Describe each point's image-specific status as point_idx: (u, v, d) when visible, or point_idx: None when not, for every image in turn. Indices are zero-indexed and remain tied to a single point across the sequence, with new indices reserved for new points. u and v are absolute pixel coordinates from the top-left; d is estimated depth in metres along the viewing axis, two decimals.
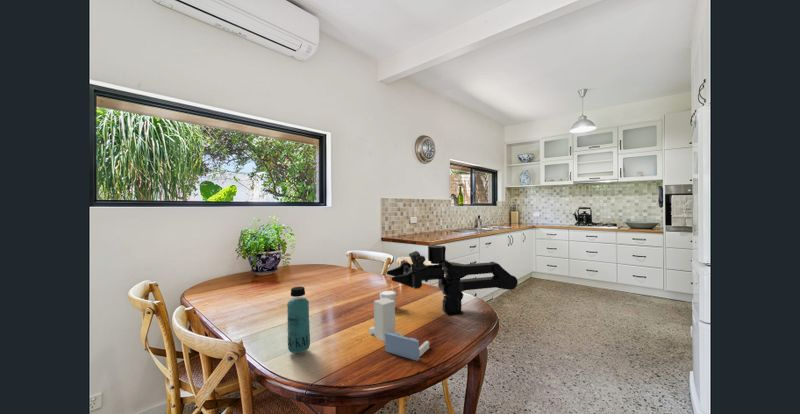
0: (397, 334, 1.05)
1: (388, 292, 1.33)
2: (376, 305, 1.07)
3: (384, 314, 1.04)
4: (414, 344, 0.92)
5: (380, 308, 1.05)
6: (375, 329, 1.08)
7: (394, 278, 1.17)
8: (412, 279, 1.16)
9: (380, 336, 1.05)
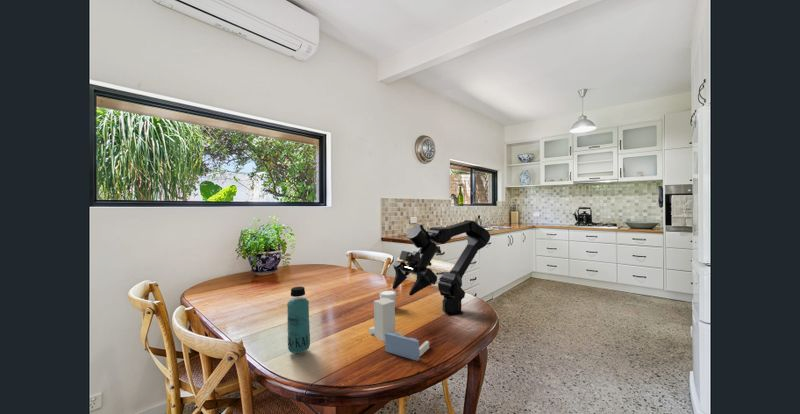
0: (397, 334, 1.05)
1: (388, 292, 1.33)
2: (376, 305, 1.07)
3: (384, 314, 1.04)
4: (414, 344, 0.92)
5: (380, 308, 1.05)
6: (375, 329, 1.08)
7: (411, 292, 1.08)
8: (427, 280, 1.08)
9: (380, 336, 1.05)
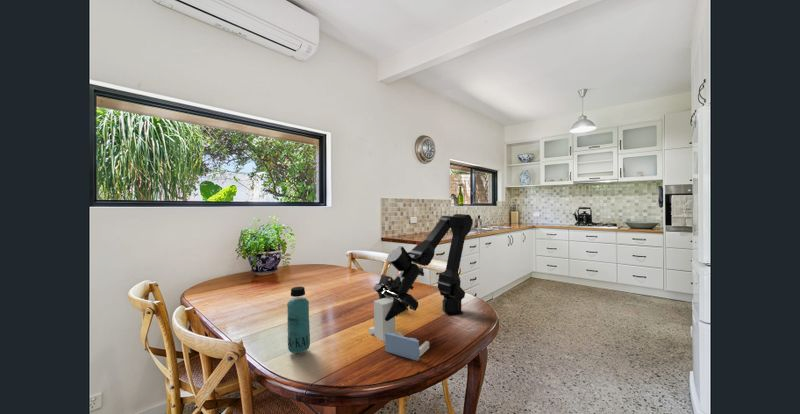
0: (397, 334, 1.05)
1: None
2: (376, 305, 1.07)
3: (384, 314, 1.04)
4: (414, 344, 0.92)
5: (380, 308, 1.05)
6: (375, 329, 1.08)
7: (387, 318, 1.04)
8: (403, 304, 1.05)
9: (380, 336, 1.05)
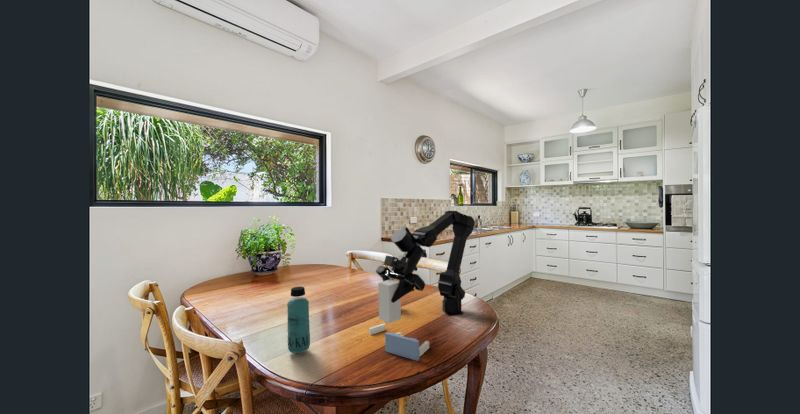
0: (397, 334, 1.05)
1: None
2: (381, 287, 1.04)
3: (390, 296, 1.02)
4: (414, 344, 0.92)
5: (386, 289, 1.02)
6: (380, 312, 1.05)
7: (394, 299, 1.02)
8: (410, 285, 1.02)
9: (386, 318, 1.03)
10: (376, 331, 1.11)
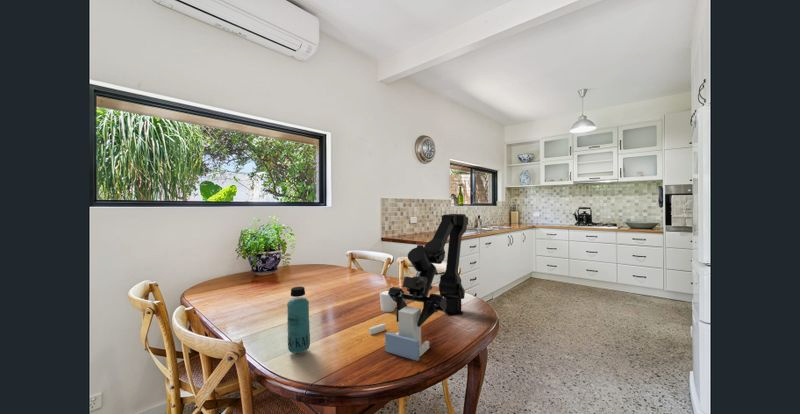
0: (397, 334, 1.05)
1: None
2: (402, 315, 0.97)
3: (413, 324, 0.96)
4: (414, 344, 0.92)
5: (409, 318, 0.96)
6: None
7: (420, 323, 0.96)
8: (435, 307, 0.98)
9: None
10: (376, 331, 1.11)
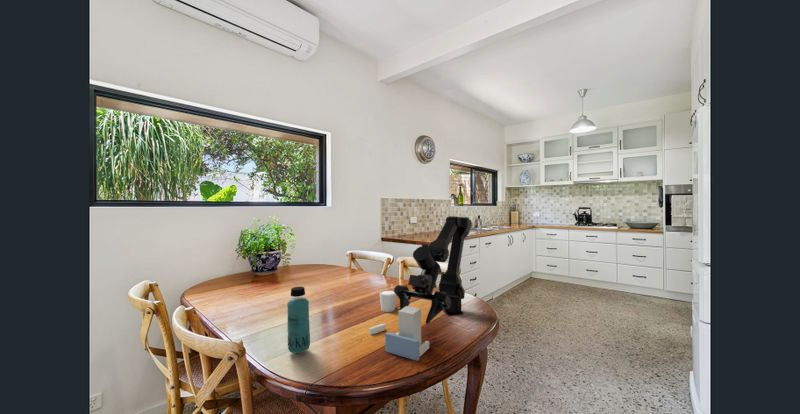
0: (397, 334, 1.05)
1: (388, 292, 1.33)
2: (402, 315, 0.97)
3: (413, 324, 0.96)
4: (414, 344, 0.92)
5: (409, 318, 0.96)
6: None
7: (428, 320, 0.99)
8: (442, 304, 1.01)
9: None
10: (376, 331, 1.11)
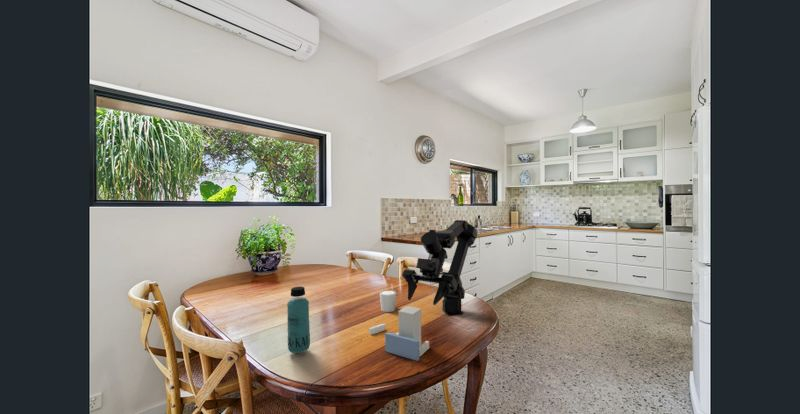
0: (397, 334, 1.05)
1: (388, 292, 1.33)
2: (402, 315, 0.97)
3: (413, 324, 0.96)
4: (414, 344, 0.92)
5: (409, 318, 0.96)
6: None
7: (435, 301, 1.03)
8: (449, 286, 1.05)
9: None
10: (376, 331, 1.11)
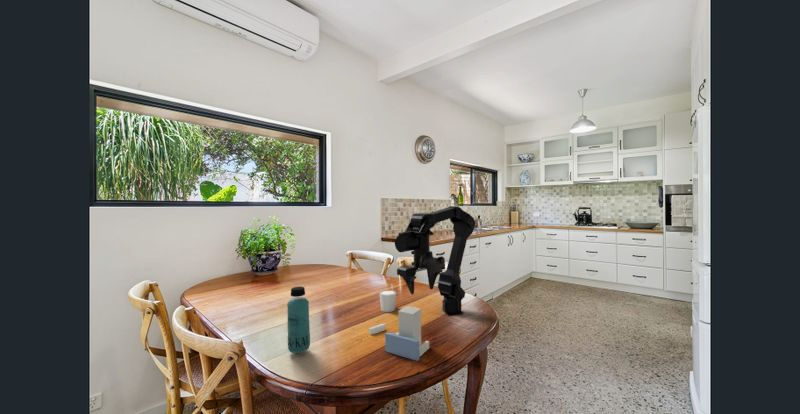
0: (397, 334, 1.05)
1: (388, 292, 1.33)
2: (402, 315, 0.97)
3: (413, 324, 0.96)
4: (414, 344, 0.92)
5: (409, 318, 0.96)
6: None
7: None
8: None
9: None
10: (376, 331, 1.11)
